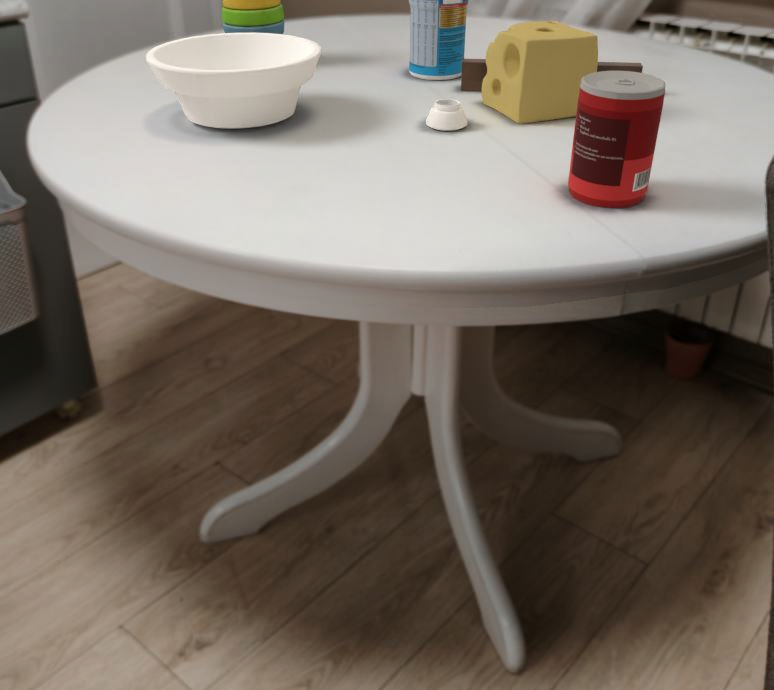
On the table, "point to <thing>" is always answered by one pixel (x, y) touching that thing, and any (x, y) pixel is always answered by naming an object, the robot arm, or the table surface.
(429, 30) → the beverage bottle
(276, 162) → the table surface
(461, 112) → the lidless jar
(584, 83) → the canned food
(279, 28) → the stacking bear
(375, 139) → the table surface
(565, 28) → the cheese
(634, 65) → the back rail
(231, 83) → the bowl
